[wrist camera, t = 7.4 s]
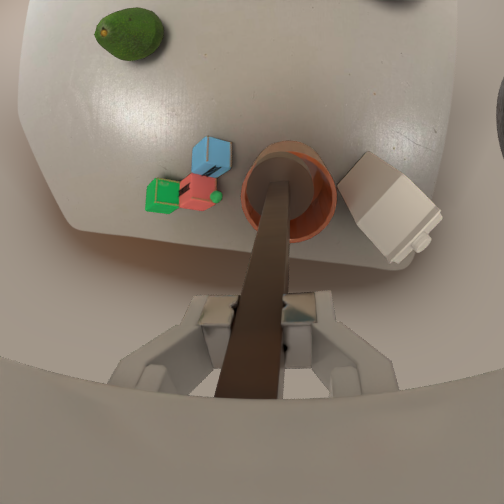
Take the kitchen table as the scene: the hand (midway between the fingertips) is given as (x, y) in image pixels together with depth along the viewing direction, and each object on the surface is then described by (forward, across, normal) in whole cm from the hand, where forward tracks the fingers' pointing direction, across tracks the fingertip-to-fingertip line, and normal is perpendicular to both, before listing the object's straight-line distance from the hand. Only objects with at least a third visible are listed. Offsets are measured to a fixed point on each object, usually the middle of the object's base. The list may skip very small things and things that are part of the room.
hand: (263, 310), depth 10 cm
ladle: (+17, 0, 0) cm, 17 cm away
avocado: (+36, +18, -20) cm, 45 cm away
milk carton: (+36, -12, +6) cm, 38 cm away
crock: (+36, 0, +4) cm, 36 cm away
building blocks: (+36, +14, +2) cm, 39 cm away
